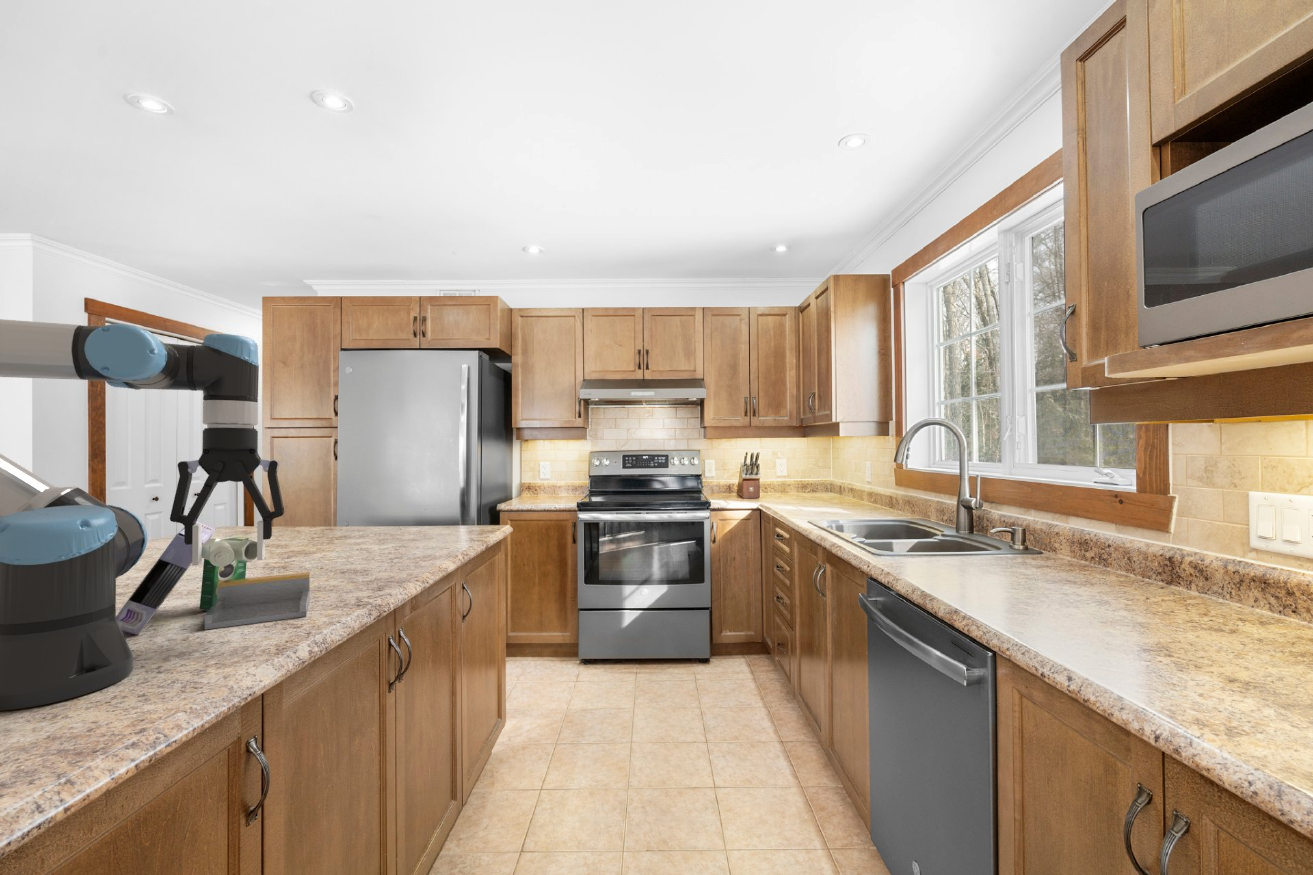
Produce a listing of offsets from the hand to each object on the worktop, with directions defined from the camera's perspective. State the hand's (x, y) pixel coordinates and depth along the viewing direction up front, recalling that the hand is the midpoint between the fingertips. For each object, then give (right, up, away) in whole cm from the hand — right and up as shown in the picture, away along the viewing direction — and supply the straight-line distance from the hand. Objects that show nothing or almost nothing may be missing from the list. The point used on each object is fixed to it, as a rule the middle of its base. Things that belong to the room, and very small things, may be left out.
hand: (229, 561), depth 96 cm
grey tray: (-2, -12, +11) cm, 17 cm away
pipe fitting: (-1, 0, -1) cm, 1 cm away
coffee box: (-14, -13, +17) cm, 26 cm away
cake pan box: (-21, -12, +6) cm, 25 cm away
